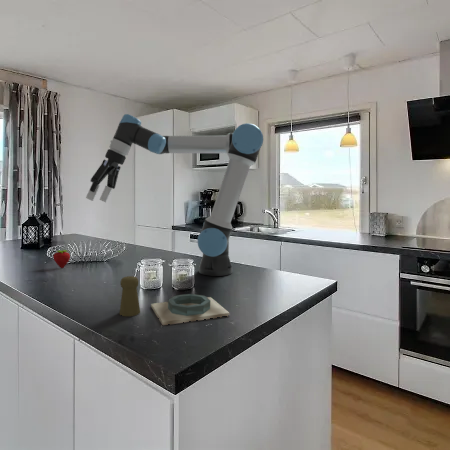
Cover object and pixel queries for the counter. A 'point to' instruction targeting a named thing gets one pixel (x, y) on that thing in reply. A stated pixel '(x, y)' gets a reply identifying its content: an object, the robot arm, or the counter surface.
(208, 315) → the ring stand
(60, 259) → the strawberry
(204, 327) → the counter surface
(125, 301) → the cork
